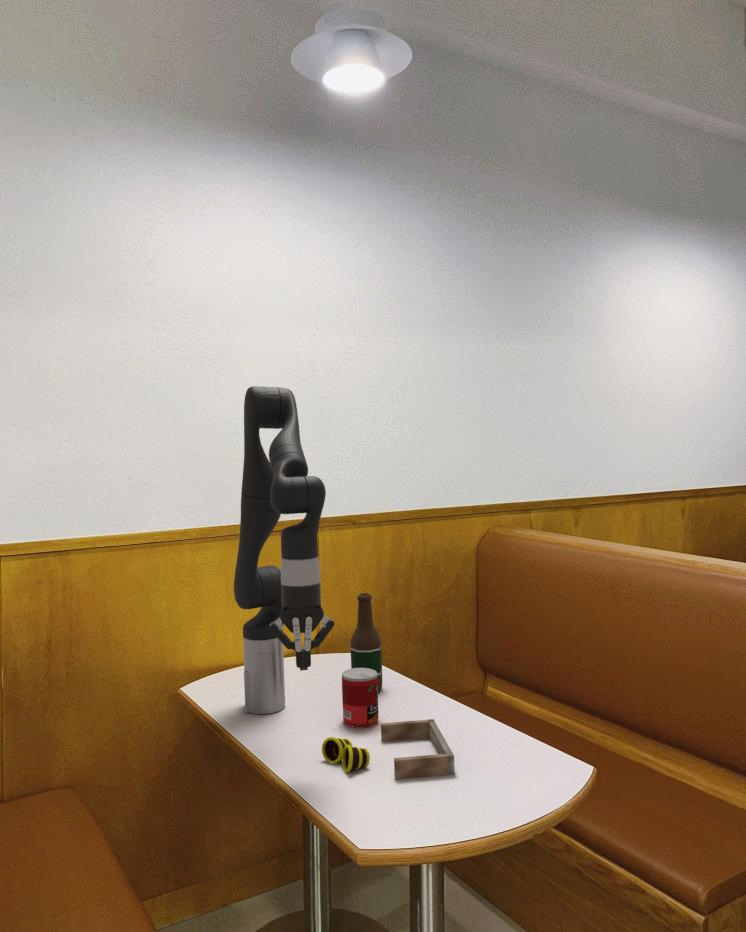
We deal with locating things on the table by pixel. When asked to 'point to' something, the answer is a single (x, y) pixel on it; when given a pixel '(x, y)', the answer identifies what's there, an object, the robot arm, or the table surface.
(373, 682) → the canned food
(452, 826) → the table surface
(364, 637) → the beer bottle
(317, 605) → the robot arm
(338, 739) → the opera glasses
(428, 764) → the walnut bay
